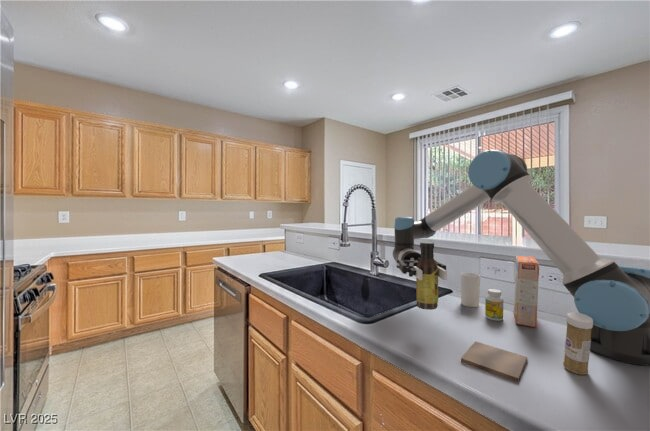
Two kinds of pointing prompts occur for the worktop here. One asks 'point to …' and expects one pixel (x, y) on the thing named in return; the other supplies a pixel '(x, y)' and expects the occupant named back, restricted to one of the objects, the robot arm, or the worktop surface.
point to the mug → (470, 289)
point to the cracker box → (526, 291)
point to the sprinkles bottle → (577, 342)
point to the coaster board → (495, 361)
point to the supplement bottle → (494, 305)
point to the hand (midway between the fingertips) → (433, 275)
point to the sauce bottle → (427, 278)
